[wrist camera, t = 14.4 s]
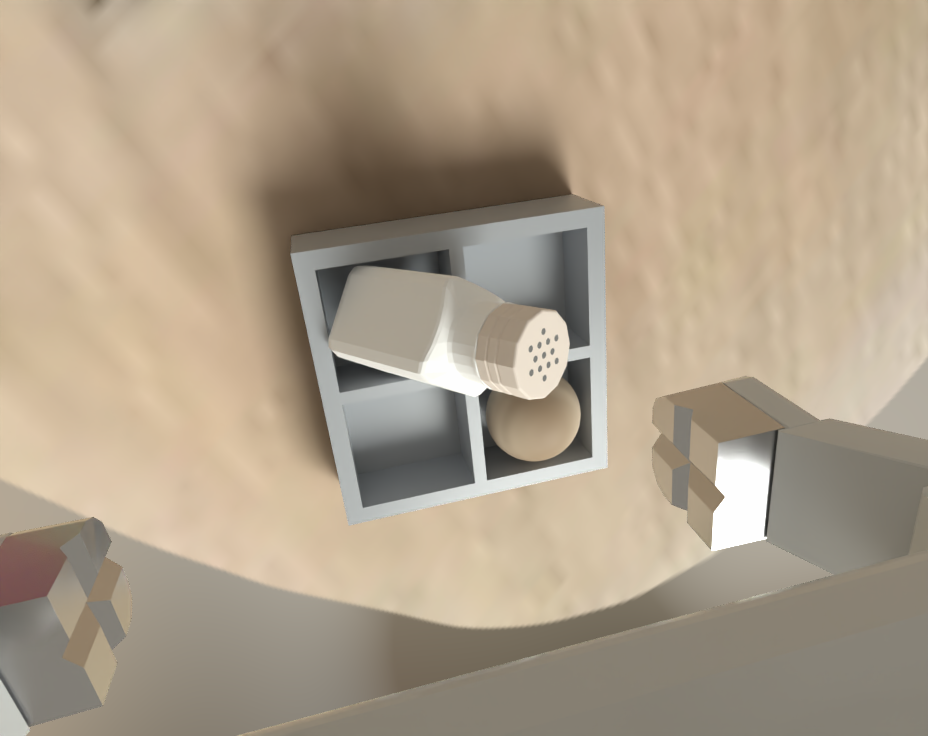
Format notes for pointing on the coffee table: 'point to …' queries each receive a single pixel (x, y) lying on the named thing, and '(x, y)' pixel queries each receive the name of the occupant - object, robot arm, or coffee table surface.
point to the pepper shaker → (448, 333)
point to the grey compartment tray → (441, 410)
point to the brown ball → (534, 422)
